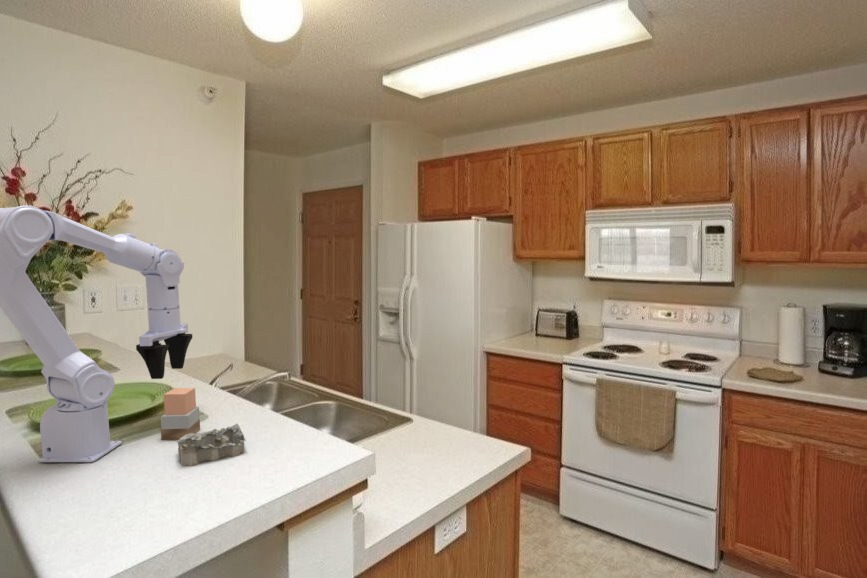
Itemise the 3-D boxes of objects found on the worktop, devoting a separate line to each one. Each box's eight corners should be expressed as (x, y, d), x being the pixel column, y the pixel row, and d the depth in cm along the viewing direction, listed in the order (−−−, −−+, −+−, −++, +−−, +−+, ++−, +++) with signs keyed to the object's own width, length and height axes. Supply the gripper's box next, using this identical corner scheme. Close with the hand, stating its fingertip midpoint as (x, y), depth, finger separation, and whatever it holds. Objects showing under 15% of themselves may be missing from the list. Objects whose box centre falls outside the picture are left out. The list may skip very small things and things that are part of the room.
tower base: (161, 441, 93) (160, 428, 92) (175, 431, 98) (174, 419, 97) (188, 441, 93) (187, 428, 92) (200, 430, 98) (199, 418, 97)
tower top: (161, 429, 92) (160, 416, 92) (173, 419, 97) (172, 407, 97) (188, 428, 93) (188, 415, 92) (199, 418, 97) (198, 406, 97)
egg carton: (179, 470, 81) (177, 446, 80) (177, 453, 87) (176, 431, 87) (247, 456, 86) (246, 433, 86) (240, 440, 93) (239, 419, 92)
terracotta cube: (164, 414, 93) (163, 394, 92) (175, 407, 97) (174, 388, 96) (185, 414, 93) (184, 394, 92) (196, 407, 97) (194, 387, 96)
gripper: (163, 313, 92) (168, 383, 94) (200, 303, 107) (203, 364, 108) (126, 313, 92) (131, 383, 94) (168, 303, 107) (171, 364, 108)
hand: (167, 373), depth 101 cm, fingers open, 7 cm apart
